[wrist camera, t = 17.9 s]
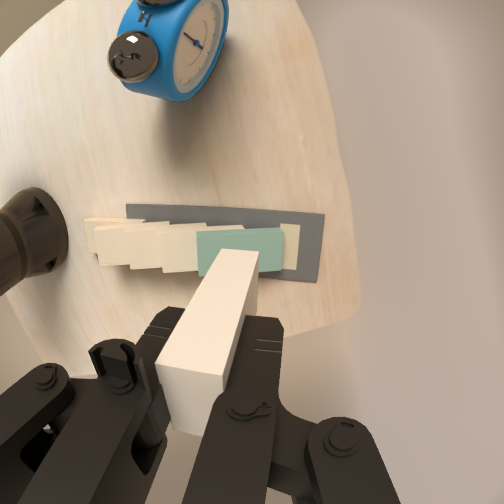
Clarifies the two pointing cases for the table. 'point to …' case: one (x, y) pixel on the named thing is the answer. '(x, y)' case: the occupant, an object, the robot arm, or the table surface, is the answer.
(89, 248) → the domino
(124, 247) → the domino
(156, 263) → the domino
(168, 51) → the alarm clock
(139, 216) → the mat
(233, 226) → the domino
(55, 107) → the table surface
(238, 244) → the domino
